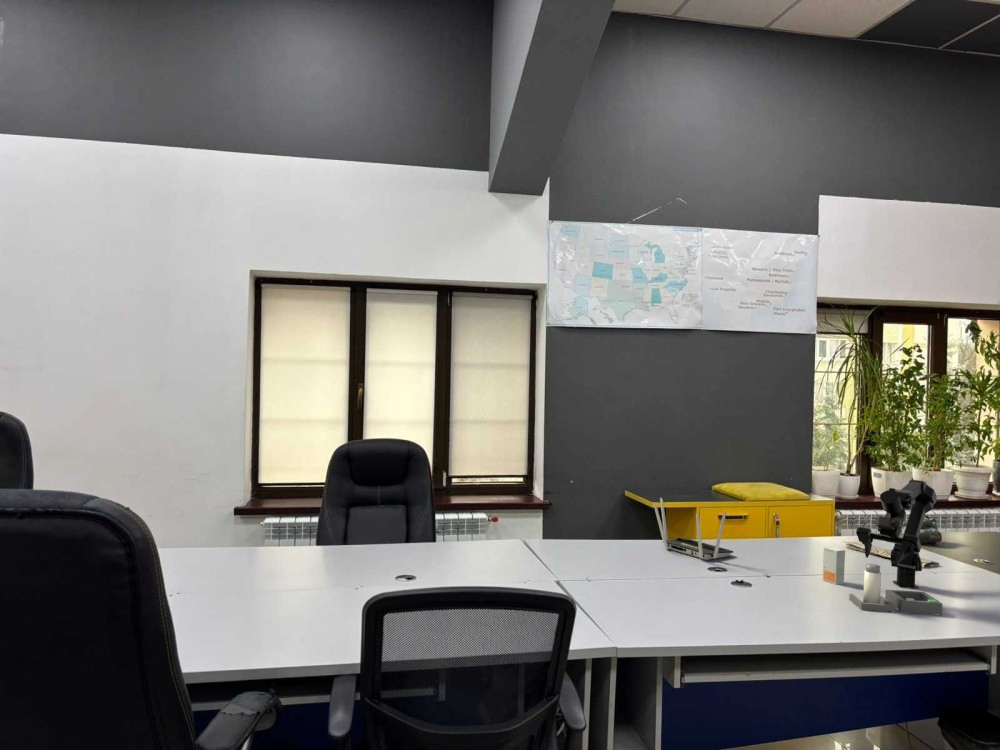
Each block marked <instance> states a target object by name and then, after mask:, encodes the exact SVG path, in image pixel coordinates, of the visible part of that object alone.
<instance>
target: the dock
mask: <svg viewBox="0 0 1000 750" xmlns="http://www.w3.org/2000/svg"><path fill="white" fill-rule="evenodd" d="M884 591H885V592H884V593H885V597H884V598H885V599H887V600H888V601H889V602H891V603H892V604H893V605H895V609H896V608H897V609H898V610H897V609H896V610H897V611H899V612H900V611H901V612H900V613H903V612H907V613H906V614H918V613H920V615H921V614H922V615H933V614H939V615H938V616H942V615H943V602H941V601H939V600H938V599H936V598H934V596H932V595H930V594H928V593H927V592H925V591H918V590H917V591H916V590H915V591H914V590H901V589H900V590H899V589H885V590H884Z"/></svg>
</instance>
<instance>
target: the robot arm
mask: <svg viewBox="0 0 1000 750" xmlns="http://www.w3.org/2000/svg"><path fill="white" fill-rule="evenodd" d="M879 495H880V496H879V500H880V502H881V505H882V507H883V510H884V512H886V513H885V516H882V515H878V516H877V519H876V523H875V524H876V525H875V526H876V527H877V532H879V533H877V532H872V529H871V528H870V527H864V526H859V527H857V528H856V531H855V533H856V536H857V539H858V542H860V543H862V544H864V545H865V553H864V554H865V558H866V559H867V558H869V557H870V555H871V554H870V550H871V547H872V546H873V544H872V543H873V541H874V540H877V541H883V542H887V543H893V544H894V546H893V548H892V549H891V559H890V563H891V564H890V565H891V567H894V568H896V580H892V583H893V584H894V585H896V586H898V587H900V588H908V589H909V588H911V589H919V588H920V586H919V585H918V584H916V572H918V573H919V572H922V571H923V568H922V562H921V559H920V558H921V556H920V552H921V549H922V544H921V542H920V540H919V534H920V531H921V527H922V524H923V520H924V517H925V516H926V514H927V513H929V512H930V511H932V510H933V508H934V505H935V504H936V503H937V494H936V491H935V489H934V488H932V487H931V486H929V485H928V484H927V481H924V480H919V479H910V480H909V481H908V483H906V485H905V486H903V487H902V488H901V489H896V488H893V487H889V488H888V489H887V490H885V491H883V492H881V494H879ZM906 510H910V512H909V515H908V518H907V517H906V516H907V512H906ZM906 519H907V520H908V522H907V521H906ZM905 521H906V522H907V525H906V528H905V532H903V523H904V522H905ZM902 533H903V535H902V537H900V536H901V534H902Z"/></svg>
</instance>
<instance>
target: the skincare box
mask: <svg viewBox="0 0 1000 750" xmlns="http://www.w3.org/2000/svg"><path fill="white" fill-rule="evenodd" d="M822 555H823V557H822V559H823V560H822V562H823V563H822V580H823V581H826V582H829V583H831V584H834V585H841V584H844V583H845V567H846V566H845V564H846V563H845V562H846V550H845V549H842V548H840V547H835V546H830V545H829V546H824V547H823V554H822Z"/></svg>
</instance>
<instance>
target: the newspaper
mask: <svg viewBox="0 0 1000 750" xmlns="http://www.w3.org/2000/svg"><path fill="white" fill-rule="evenodd" d="M842 542H843V543H845V548H846V549H849V550H853V551H857V552H860V553H864V554H865V545H864V544H862V542H860V541H843V540H842ZM891 551H892V549H891V550H890V549H888V548H887V549H886V548H882V547H878V546H877V545H876V546H875V545H872V547H871V550H870V554H869V555H873V556H876V557H880V558H883V559H888V560H891ZM920 559H921V562H922V569H925V568H926V567H925V566H929V565H935V566H934V567H939V566H940V562H938V561H934V560H929V559H925V558H923V557H922V558H921V557H920ZM929 567H930V566H929Z"/></svg>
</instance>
